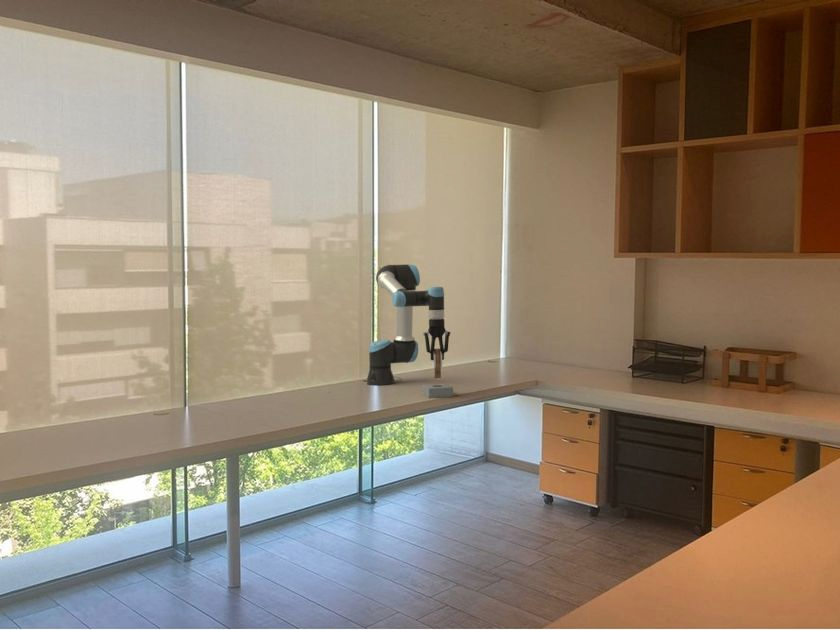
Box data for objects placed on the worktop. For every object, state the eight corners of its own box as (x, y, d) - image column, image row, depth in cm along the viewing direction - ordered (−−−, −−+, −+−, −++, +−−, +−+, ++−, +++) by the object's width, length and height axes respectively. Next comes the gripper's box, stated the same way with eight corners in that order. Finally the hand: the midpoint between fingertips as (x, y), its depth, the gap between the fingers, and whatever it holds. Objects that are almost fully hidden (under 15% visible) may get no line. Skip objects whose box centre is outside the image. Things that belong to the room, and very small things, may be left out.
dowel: (433, 377, 369) (433, 348, 368) (439, 377, 370) (439, 348, 369) (435, 378, 366) (435, 349, 365) (441, 377, 367) (441, 349, 366)
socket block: (422, 394, 373) (422, 385, 373) (446, 392, 376) (445, 383, 376) (429, 397, 361) (428, 388, 361) (453, 396, 364) (453, 387, 364)
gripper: (422, 319, 361) (423, 368, 362) (454, 318, 365) (455, 366, 366) (418, 318, 368) (419, 366, 369) (449, 317, 372) (450, 365, 373)
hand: (437, 366), depth 368 cm, fingers closed on dowel, 3 cm apart
